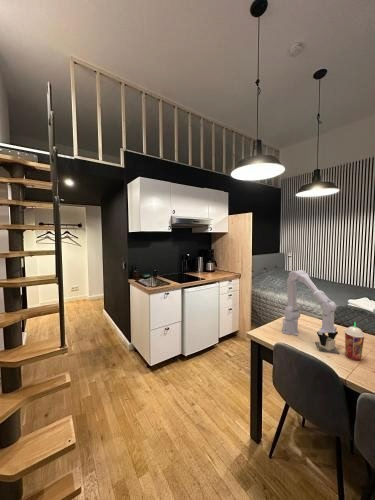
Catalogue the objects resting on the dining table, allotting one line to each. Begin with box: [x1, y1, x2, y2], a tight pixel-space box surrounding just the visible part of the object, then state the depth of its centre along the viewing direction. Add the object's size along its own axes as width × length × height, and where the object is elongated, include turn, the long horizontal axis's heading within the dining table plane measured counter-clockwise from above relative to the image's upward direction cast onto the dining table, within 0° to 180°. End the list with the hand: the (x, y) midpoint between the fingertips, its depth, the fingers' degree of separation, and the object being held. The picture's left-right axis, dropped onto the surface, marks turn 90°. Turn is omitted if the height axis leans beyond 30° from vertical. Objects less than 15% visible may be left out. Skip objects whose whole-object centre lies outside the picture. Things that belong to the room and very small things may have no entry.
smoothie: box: [344, 321, 365, 361], centre depth 115 cm, size 8×8×20 cm
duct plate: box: [314, 340, 340, 355], centre depth 125 cm, size 10×10×4 cm
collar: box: [319, 337, 336, 350], centre depth 124 cm, size 6×6×5 cm
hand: (326, 343), depth 125 cm, fingers open, 7 cm apart
